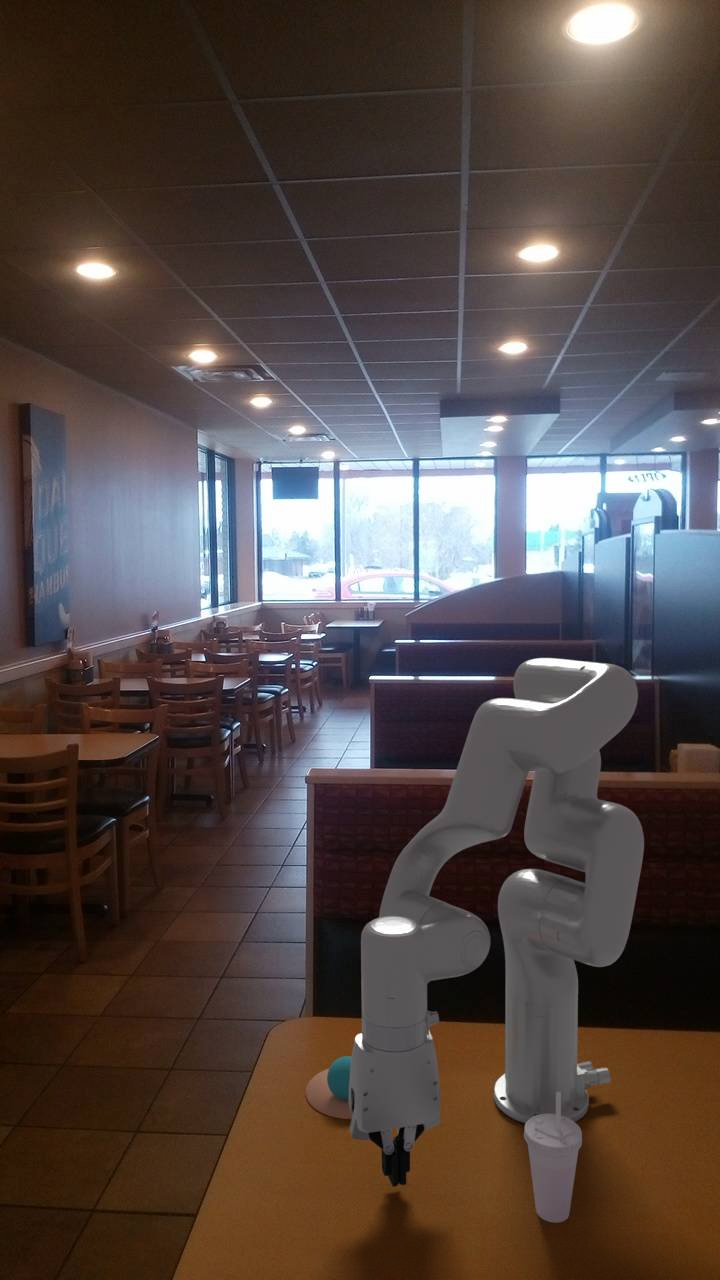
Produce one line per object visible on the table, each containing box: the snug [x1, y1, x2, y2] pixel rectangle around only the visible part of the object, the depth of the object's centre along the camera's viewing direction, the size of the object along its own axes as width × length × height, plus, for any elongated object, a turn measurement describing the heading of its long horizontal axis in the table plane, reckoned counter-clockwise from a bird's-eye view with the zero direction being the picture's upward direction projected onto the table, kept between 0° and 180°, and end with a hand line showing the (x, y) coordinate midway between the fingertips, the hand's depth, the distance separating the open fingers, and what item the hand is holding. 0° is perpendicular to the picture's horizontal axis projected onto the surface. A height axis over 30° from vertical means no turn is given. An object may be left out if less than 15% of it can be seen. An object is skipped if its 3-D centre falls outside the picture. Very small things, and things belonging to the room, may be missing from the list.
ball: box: [327, 1055, 352, 1101], centre depth 128 cm, size 6×6×6 cm
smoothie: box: [523, 1092, 583, 1224], centre depth 105 cm, size 6×6×14 cm
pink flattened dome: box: [305, 1068, 353, 1120], centre depth 130 cm, size 13×13×1 cm
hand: (395, 1177), depth 109 cm, fingers closed
